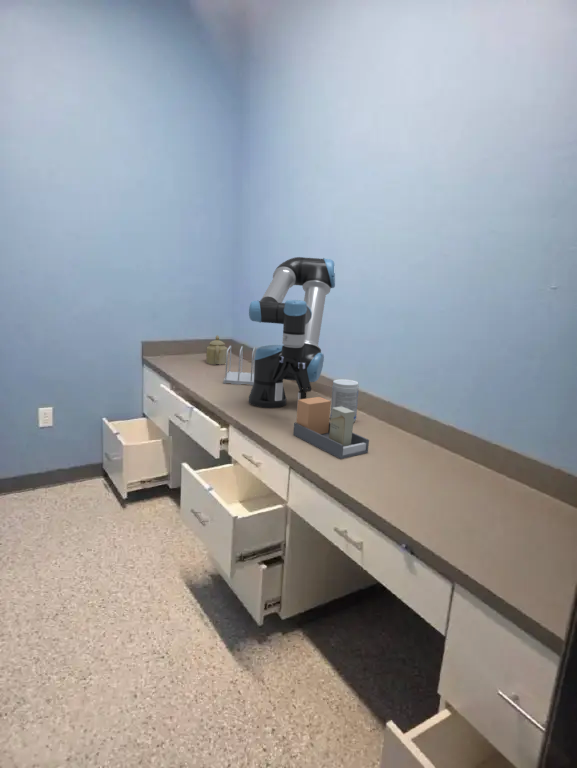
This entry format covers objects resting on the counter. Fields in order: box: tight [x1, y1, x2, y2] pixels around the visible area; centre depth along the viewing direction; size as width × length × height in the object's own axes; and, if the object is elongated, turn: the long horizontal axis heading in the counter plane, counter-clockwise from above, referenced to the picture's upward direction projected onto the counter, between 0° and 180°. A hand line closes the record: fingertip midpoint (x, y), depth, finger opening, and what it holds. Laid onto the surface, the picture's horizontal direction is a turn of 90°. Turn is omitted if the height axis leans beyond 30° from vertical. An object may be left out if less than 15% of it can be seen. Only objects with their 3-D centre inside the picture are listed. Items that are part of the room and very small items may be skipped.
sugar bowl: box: [206, 334, 228, 365], centre depth 278 cm, size 15×11×15 cm
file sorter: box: [222, 345, 256, 386], centre depth 245 cm, size 25×17×16 cm
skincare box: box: [329, 406, 355, 447], centre depth 164 cm, size 6×4×12 cm
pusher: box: [296, 396, 331, 434], centre depth 175 cm, size 6×9×11 cm, turn 126°
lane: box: [292, 421, 370, 460], centre depth 169 cm, size 24×11×4 cm, turn 36°
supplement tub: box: [330, 378, 359, 423], centre depth 194 cm, size 10×10×15 cm
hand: (289, 405), depth 185 cm, fingers open, 13 cm apart
